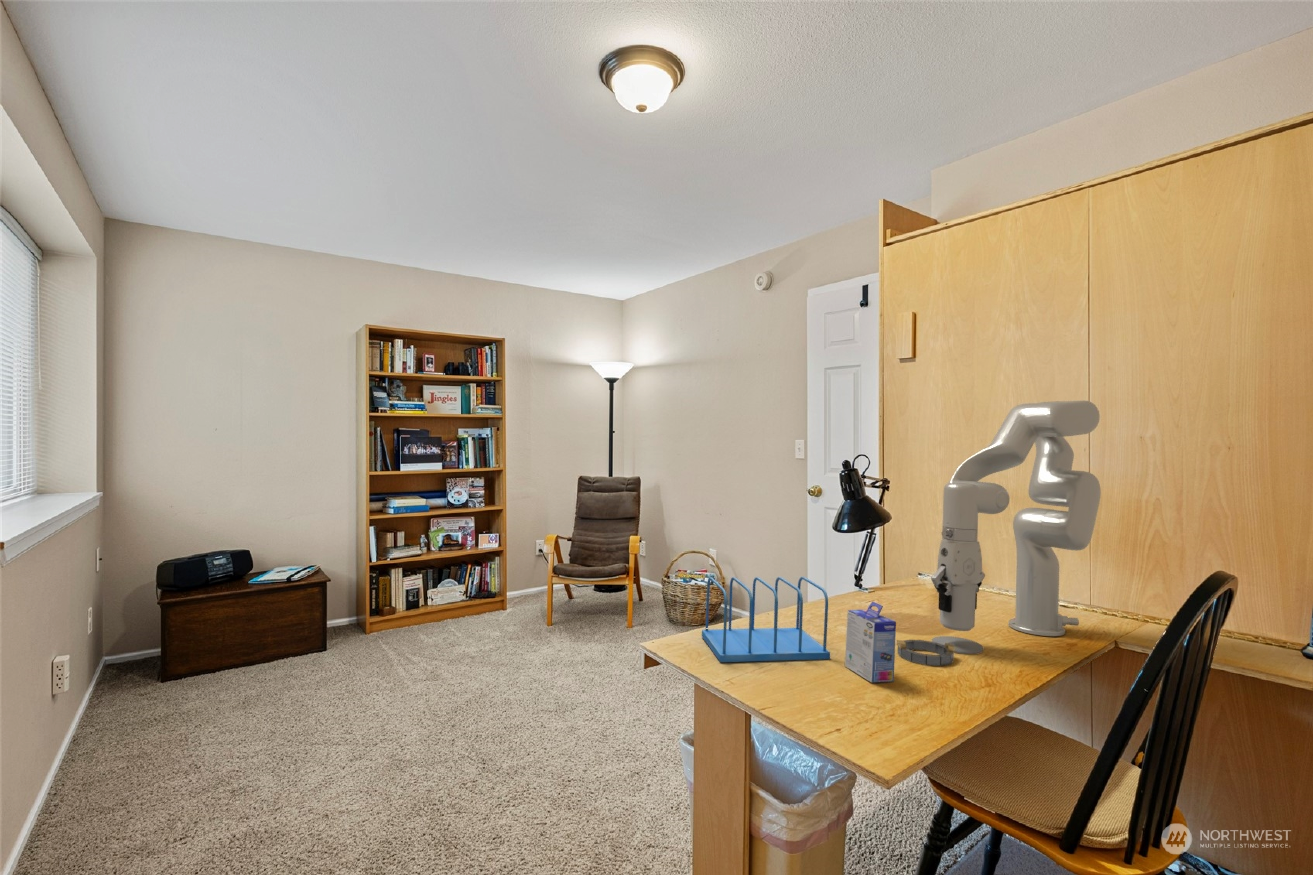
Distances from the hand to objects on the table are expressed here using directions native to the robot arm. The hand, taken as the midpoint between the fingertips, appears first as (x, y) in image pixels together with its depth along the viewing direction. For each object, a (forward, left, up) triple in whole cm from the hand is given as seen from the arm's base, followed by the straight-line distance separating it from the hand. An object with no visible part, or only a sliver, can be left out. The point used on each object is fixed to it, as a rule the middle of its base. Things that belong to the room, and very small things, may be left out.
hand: (957, 609), depth 147 cm
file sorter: (+46, +9, -9) cm, 48 cm away
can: (0, 0, -5) cm, 5 cm away
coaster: (0, 0, -9) cm, 9 cm away
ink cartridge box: (+25, +22, -9) cm, 34 cm away
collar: (+10, +9, -9) cm, 16 cm away
